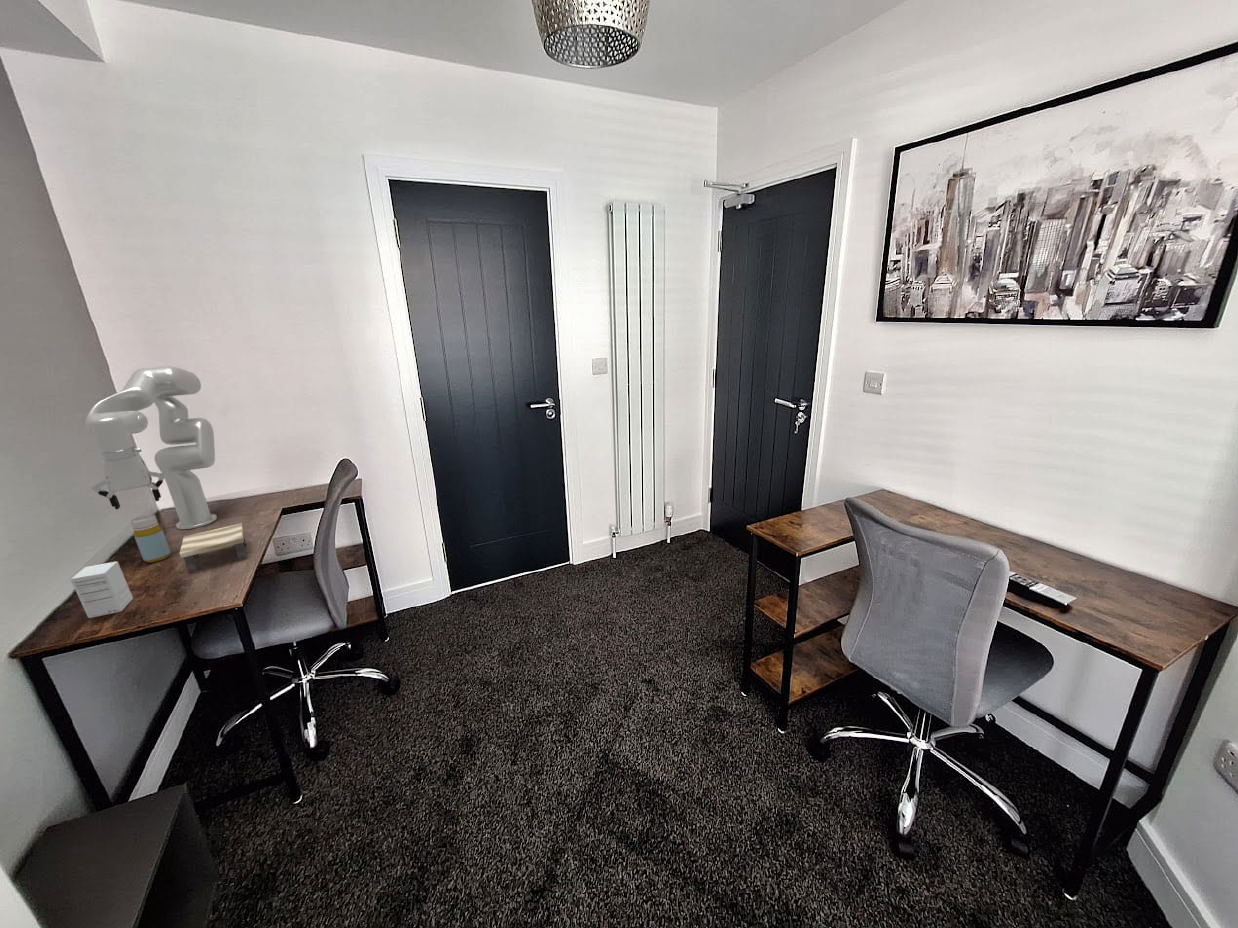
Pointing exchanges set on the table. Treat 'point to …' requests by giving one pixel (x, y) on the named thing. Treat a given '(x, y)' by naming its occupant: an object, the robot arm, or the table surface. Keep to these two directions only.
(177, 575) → the table surface
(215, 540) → the footstool
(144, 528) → the bottle
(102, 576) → the supplement box
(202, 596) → the table surface
